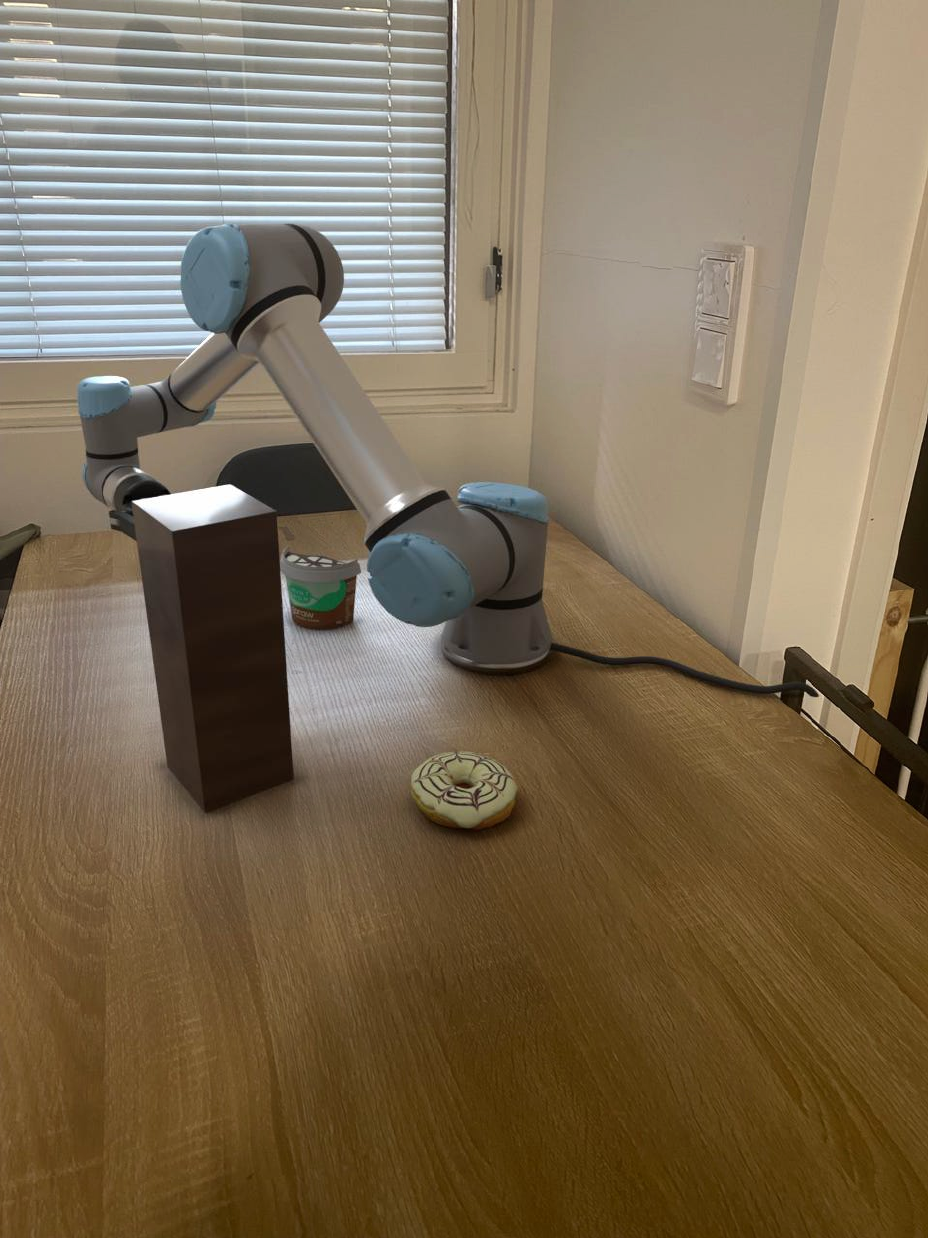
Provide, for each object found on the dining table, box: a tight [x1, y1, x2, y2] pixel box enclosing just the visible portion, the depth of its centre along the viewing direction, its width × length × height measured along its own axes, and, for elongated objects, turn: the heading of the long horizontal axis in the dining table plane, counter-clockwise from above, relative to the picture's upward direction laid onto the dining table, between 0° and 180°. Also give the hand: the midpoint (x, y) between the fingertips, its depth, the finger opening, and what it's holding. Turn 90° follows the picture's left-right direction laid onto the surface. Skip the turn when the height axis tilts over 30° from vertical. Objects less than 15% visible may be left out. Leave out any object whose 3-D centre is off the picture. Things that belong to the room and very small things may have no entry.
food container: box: [280, 545, 362, 631], centre depth 129 cm, size 12×6×10 cm, turn 68°
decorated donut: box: [410, 750, 519, 831], centre depth 93 cm, size 10×11×4 cm
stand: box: [131, 484, 295, 813], centre depth 91 cm, size 10×10×30 cm
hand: (204, 547), depth 117 cm, fingers closed on bar, 3 cm apart
